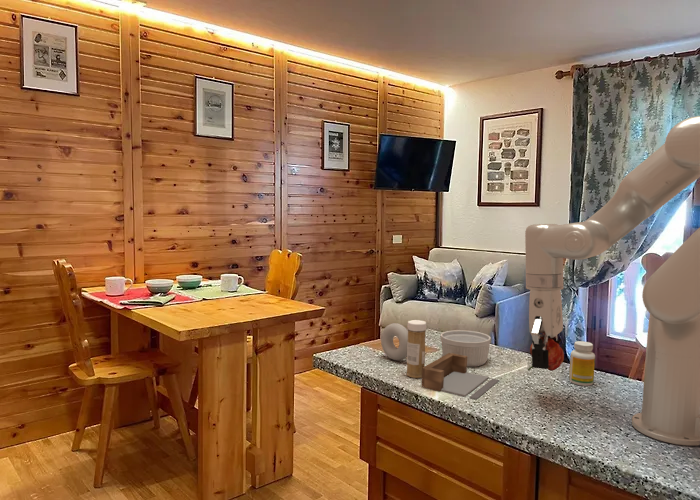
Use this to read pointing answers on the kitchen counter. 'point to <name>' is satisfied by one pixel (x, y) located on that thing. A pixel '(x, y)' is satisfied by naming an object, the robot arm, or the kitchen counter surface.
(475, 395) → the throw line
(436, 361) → the backstop rail
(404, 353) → the donut
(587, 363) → the supplement bottle
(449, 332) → the ramekin
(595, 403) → the kitchen counter surface
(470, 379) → the mat
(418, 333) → the sprinkles bottle
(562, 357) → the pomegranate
